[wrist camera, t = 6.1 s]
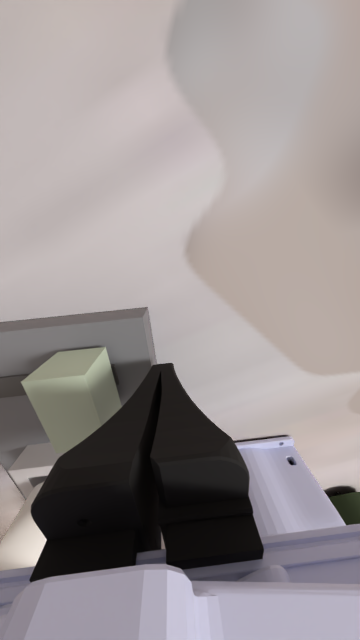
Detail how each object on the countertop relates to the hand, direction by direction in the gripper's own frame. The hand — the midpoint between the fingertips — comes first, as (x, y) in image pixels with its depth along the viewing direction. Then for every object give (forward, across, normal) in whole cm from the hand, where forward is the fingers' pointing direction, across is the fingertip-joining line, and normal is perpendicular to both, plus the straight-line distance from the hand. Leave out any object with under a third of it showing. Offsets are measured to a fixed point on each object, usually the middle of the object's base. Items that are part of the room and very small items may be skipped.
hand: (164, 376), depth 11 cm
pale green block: (+1, +5, 0) cm, 5 cm away
